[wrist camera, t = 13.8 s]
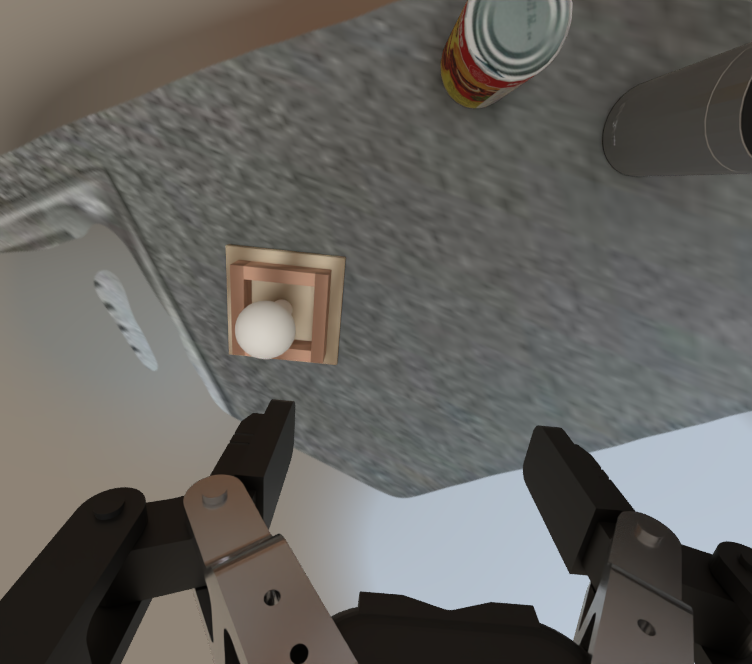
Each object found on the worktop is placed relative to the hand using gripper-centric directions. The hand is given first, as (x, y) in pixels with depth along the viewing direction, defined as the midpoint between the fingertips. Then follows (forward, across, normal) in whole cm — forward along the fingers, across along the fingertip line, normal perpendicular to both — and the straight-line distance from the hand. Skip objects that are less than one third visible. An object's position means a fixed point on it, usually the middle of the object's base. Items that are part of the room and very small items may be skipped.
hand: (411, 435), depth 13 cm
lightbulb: (+35, +12, +8) cm, 38 cm away
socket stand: (+36, +12, +8) cm, 39 cm away
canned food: (+36, -7, -20) cm, 42 cm away
